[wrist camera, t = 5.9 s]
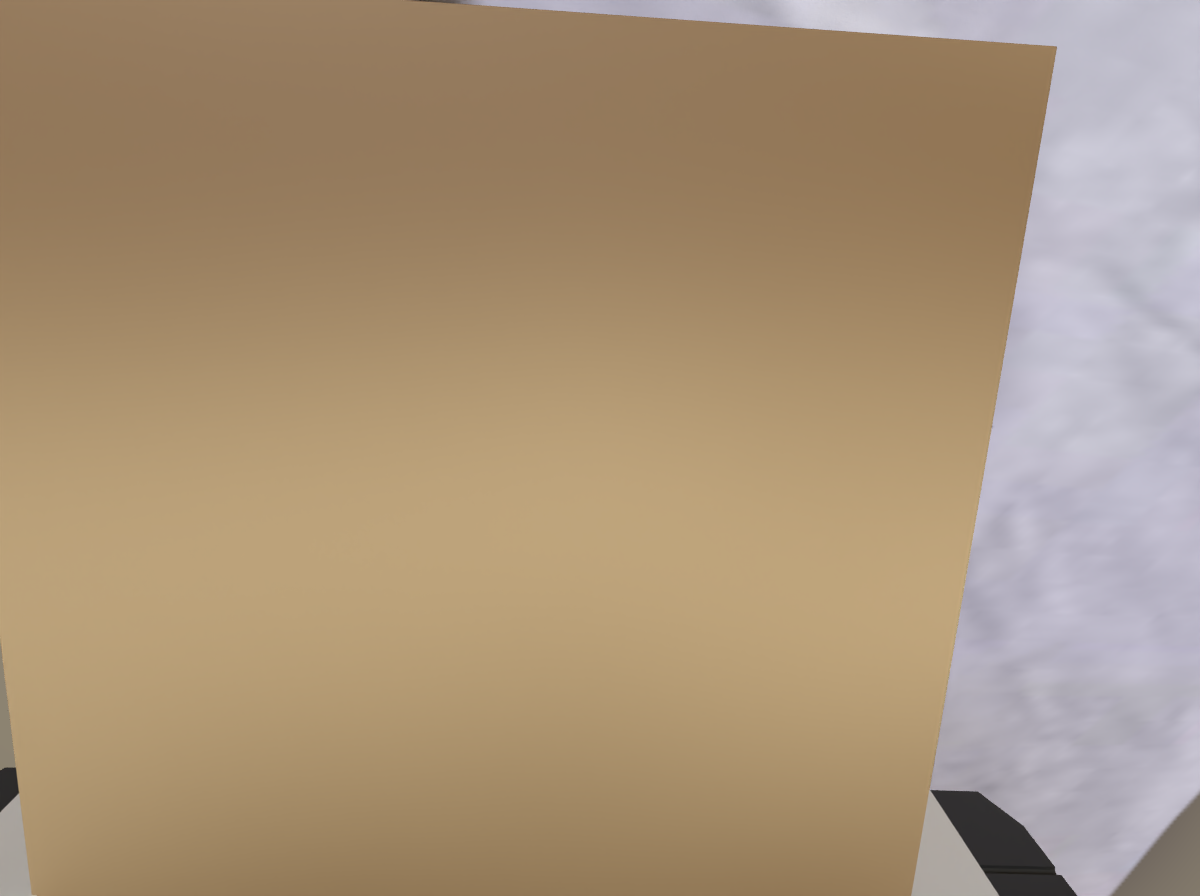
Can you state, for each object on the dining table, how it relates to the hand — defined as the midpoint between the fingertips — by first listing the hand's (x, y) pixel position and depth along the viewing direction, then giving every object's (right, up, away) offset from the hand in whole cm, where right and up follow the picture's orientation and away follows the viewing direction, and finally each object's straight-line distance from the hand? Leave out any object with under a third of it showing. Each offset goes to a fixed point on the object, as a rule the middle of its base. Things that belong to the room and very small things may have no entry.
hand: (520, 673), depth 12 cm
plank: (0, 0, -2) cm, 2 cm away
